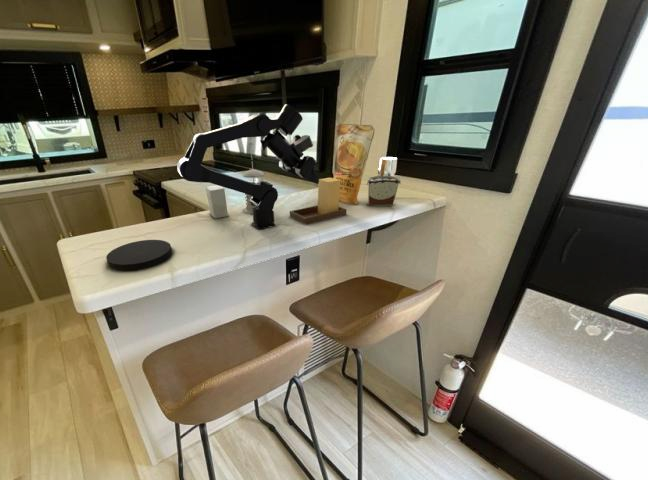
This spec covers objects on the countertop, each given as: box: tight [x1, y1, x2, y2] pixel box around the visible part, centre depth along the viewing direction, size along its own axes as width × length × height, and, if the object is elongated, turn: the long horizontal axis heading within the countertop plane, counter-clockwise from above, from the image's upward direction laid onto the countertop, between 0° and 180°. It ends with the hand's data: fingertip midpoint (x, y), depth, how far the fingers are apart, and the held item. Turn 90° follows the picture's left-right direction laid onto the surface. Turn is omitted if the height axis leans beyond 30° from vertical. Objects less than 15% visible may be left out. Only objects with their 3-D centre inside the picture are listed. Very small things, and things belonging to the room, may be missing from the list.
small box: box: [205, 184, 229, 219], centre depth 120 cm, size 8×6×10 cm
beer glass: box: [377, 156, 398, 177], centre depth 129 cm, size 7×7×15 cm
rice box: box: [317, 177, 340, 214], centre depth 112 cm, size 5×6×12 cm
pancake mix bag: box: [333, 123, 376, 205], centre depth 123 cm, size 7×19×28 cm, turn 27°
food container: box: [366, 175, 401, 207], centre depth 121 cm, size 12×6×10 cm, turn 84°
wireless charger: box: [105, 239, 173, 272], centre depth 90 cm, size 18×18×2 cm
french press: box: [242, 140, 265, 215], centre depth 118 cm, size 10×12×25 cm
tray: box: [289, 204, 347, 225], centre depth 114 cm, size 18×11×2 cm, turn 117°
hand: (312, 180), depth 107 cm, fingers open, 9 cm apart
